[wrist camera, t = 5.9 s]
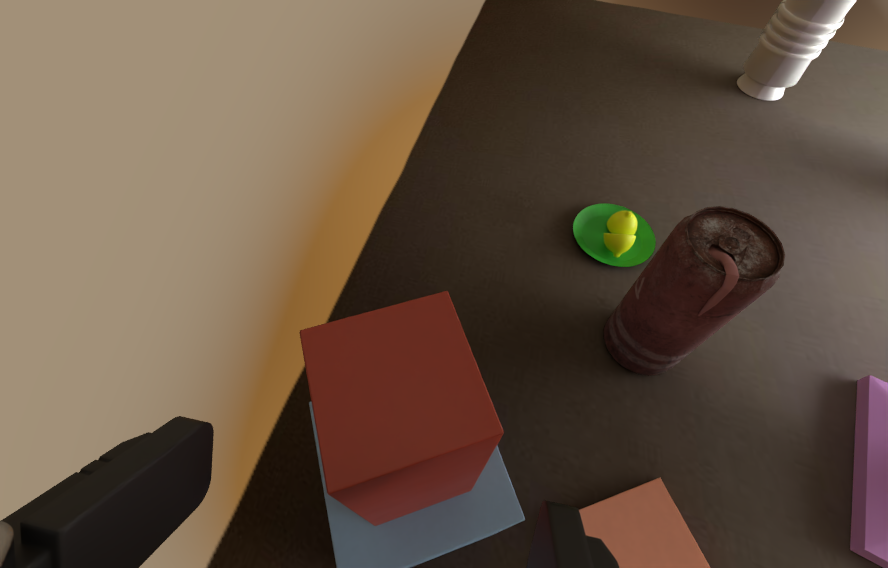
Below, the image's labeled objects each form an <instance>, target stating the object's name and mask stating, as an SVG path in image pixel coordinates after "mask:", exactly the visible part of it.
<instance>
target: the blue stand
mask: <svg viewBox="0 0 888 568" xmlns="http://www.w3.org/2000/svg"><path fill="white" fill-rule="evenodd" d="M309 406H310V412H311V418H312V424H313V430H314V436H315V442H316V448H317V454H318V460H319V466H320V472H321V478H322V484H323V490H324V495H325V501H326V507H327V513H328V519H329V525H330V531H331V537H332V543H333V549H334V555H335V561H336V567H337V568H411V567H413V566H416V565H418V564H421V563H423V562H426V561H428V560H431V559H433V558H436V557H438V556H441V555H443V554H446V553H448V552H451V551H454V550H456V549H459V548H461V547H464V546H466V545H469V544H471V543H474V542H476V541H479V540H481V539H484V538H486V537H489V536H491V535H493V534H496V533H498V532H500V531H502V530H504V529H507V528H509V527H511V526H513V525H515V524H517V523H520V522H522V521H524V520H525V517H524V515H523V512H522V509H521V507H520V504H519V502H518V499H517V496H516V494H515V491H514V489H513V486H512V483H511V481H510V478H509V476H508V473H507V470H506V468H505V465H504V463H503V460H502V457H501V455H500V452H499V450H498V447H497V446H496V448H495V449H494V451H493V453H492V455H491V456H490V458H489V460H488V462H487V464H486V465H485V467H484V469H483V471H482V472H481V474H480V476H479V478H478V480H477V481H476V483H475V485H474V487H473V488H472V490H471V491H469V492H466V493H464V494H461V495H458V496H455V497H453V498H450V499H447V500H445V501H442V502H439V503H437V504H434V505H431V506H428V507H426V508H423V509H420V510H418V511H415V512H412V513H410V514H407V515H404V516H402V517H399V518H396V519H393V520H391V521H388V522H385V523H383V524H380V525H377V526H374V525H373V524H371V523H370V522H368V521H367V520H365V519H364V518H362V517H361V516H359V515H358V514H356V513H355V512H353V511H352V510H350V509H349V508H348V507H346V506H345V505H343V504H342V503H340V502H339V501H337V500H336V499H334V498H333V497H331V496H330V495H328V493H327V489H326V483H325V478H324V472H323V466H322V460H321V454H320V448H319V443H318V437H317V431H316V425H315V419H314V413H313V408H312V402H309Z"/></svg>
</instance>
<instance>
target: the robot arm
mask: <svg viewBox="0 0 888 568" xmlns="http://www.w3.org/2000/svg"><path fill="white" fill-rule="evenodd" d="M212 451H213V427H212V425H211V424H210V423H208V422H203V421H199V420H194V419H190V418H186V417H181V416H179V417H175V418H174V419H172V420H170V421H169V422H167V423H166V424H165V425H163V426H162V427H160V428H159V429H157V430H156V431H154V432H153V433H146V434H143V435H141V436H138V437H135V438H133V439H130V440H127V441H125V442H122V443H120V444H119V445H117V446H116V447H114V448H113V449H111V450H110V451H108V452H107V453H105V454H103V455H102V456H100V458H99V460H94V461H93V462H91V463H90V464H88V465H87V466H85V467H83V468H82V469H81V471H80V472H79V473H77V472H76V473H74V474H73V475H71V476H69V477H68V478H66V479H65V480H63V481H62V482H60V483H59V484H57V485H56V486H54V487H52V488H51V489H49V490H48V491H46V492H45V493H43V494H42V495H40V496H39V497H37V498H35V499H34V500H33V501H31V502H30V503H28V504H27V505H25V506H23V507H22V508H20V509H18V510H17V511H16V512H14V513H12V514H11V515H9V516H8V517H6V518H5V519H3V520H1V521H0V568H139V567H140V566H141V565H142V564H143V563H144V562H145V560H147V558H149V556H150V555H151V554H152V553H153V552H154V551H155V550H156V549H157V548H158V547H159V546H160V545H161V544H162V543H163V542H164V541H165V540H166V539H167V538H168V537H169V536H170V535H171V534H172V533H173V532H174V531H175V530H176V529H177V528H178V527H179V526H180V525H181V524H182V522H184V521H185V519H187V518H188V517H189V515H190V514H191V513H192V512H193V511H194V510H195V509H196V508H197V507H198V506H199V505H200V503H201V502H202V501H203V499H204V497H205V495H206V493H207V491H208V488H209V485H210V481H211V470H212V469H211V468H212ZM527 568H619V565H618V562H617V560H616V559H615V557H614V556H613V555H612V553H611V552H610V551H609V549H608V548H607V546H606V545H605V544H604V542H603V541H602V540H601V539H599V538H595V537H591V536H586V534H585V530H584V527H583V523H582V519H581V515H580V512H579V509H578V508H576V507H572V506H568V505H563V504H559V503H555V502H550V501H546V500H544V501H543V503H542V505H541V508H540V512H539V516H538V520H537V524H536V528H535V532H534V537H533V541H532V545H531V549H530V553H529V557H528V563H527Z"/></svg>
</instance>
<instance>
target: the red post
mask: <svg viewBox="0 0 888 568" xmlns="http://www.w3.org/2000/svg"><path fill="white" fill-rule="evenodd" d="M300 338H301V343H302V349H303V355H304V361H305V367H306V373H307V378H308V384H309V390H310V396H311V402H312V408H313V413H314V419H315V425H316V431H317V437H318V443H319V448H320V454H321V460H322V466H323V472H324V478H325V483H326V489H327V493H328V495H330V496H331V497H333V498H334V499H336V500H337V501H339V502H340V503H342V504H343V505H345V506H346V507H348V508H349V509H350V510H352V511H353V512H355V513H356V514H358V515H359V516H361V517H362V518H364V519H365V520H367V521H368V522H370V523H371V524H373V525H374V526H377V525H380V524H383V523H385V522H388V521H391V520H393V519H396V518H399V517H402V516H404V515H407V514H410V513H412V512H415V511H418V510H420V509H423V508H426V507H428V506H431V505H434V504H437V503H439V502H442V501H445V500H447V499H450V498H453V497H455V496H458V495H461V494H464V493H466V492H469V491H471V490H472V488H473V487H474V485H475V483H476V481H477V480H478V478H479V476H480V474H481V472H482V471H483V469H484V467H485V465H486V464H487V462H488V460H489V458H490V456H491V455H492V453H493V451H494V449H495V448H496V446H497V444H498V442H499V441H500V439H501V437H502V435H503V433H504V431H503V428H502V426H501V423H500V421H499V418H498V416H497V413H496V411H495V408H494V406H493V403H492V401H491V398H490V396H489V393H488V391H487V388H486V386H485V383H484V381H483V378H482V376H481V373H480V371H479V368H478V366H477V363H476V361H475V358H474V356H473V353H472V351H471V348H470V346H469V343H468V341H467V338H466V336H465V333H464V331H463V328H462V326H461V323H460V321H459V318H458V316H457V313H456V311H455V308H454V306H453V303H452V301H451V298H450V296H449V293H448V292H447V291H444V292H440V293H437V294H433V295H429V296H426V297H422V298H418V299H414V300H411V301H407V302H403V303H400V304H396V305H392V306H389V307H385V308H381V309H378V310H374V311H370V312H366V313H363V314H359V315H355V316H352V317H348V318H344V319H341V320H337V321H333V322H329V323H326V324H322V325H318V326H315V327H311V328H307V329H304V330H301V331H300Z"/></svg>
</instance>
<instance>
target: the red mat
mask: <svg viewBox="0 0 888 568" xmlns="http://www.w3.org/2000/svg"><path fill="white" fill-rule="evenodd" d="M579 512H580V515H581V519H582V523H583V527H584V530H585V534H586V536H591V537H595V538H599V539H601V540H602V541H603V542H604V544H605V545H606V546H607V548H608V549H609V551H610V552H611V553H612V555H613V556H614V557H615V559H616V560H617V562H618V565H619V568H710V566H709V564H708V563H707V561H706V559H705V557H704V555H703V554H702V552H701V550H700V548H699V546H698V545H697V543H696V541H695V539H694V537H693V536H692V534H691V532H690V530H689V529H688V527H687V525H686V523H685V521H684V520H683V518H682V516H681V514H680V512H679V511H678V509H677V507H676V505H675V503H674V502H673V500H672V498H671V496H670V495H669V493H668V491H667V489H666V487H665V486H664V484H663V482H662V480H661V478H657V479H655V480H652V481H650V482H647V483H645V484H642V485H640V486H637V487H635V488H632V489H630V490H627V491H625V492H622V493H620V494H617V495H615V496H612V497H610V498H607V499H605V500H602V501H600V502H597V503H595V504H592V505H590V506H587V507H585V508H582V509H580V510H579Z"/></svg>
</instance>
